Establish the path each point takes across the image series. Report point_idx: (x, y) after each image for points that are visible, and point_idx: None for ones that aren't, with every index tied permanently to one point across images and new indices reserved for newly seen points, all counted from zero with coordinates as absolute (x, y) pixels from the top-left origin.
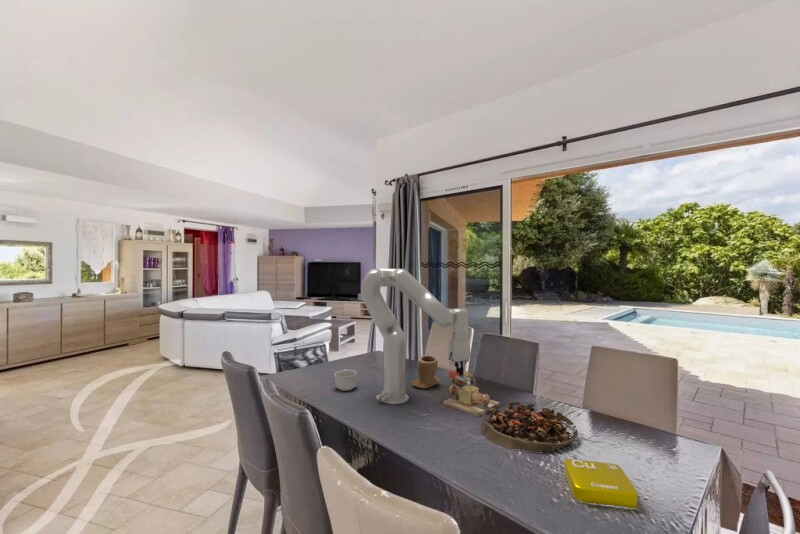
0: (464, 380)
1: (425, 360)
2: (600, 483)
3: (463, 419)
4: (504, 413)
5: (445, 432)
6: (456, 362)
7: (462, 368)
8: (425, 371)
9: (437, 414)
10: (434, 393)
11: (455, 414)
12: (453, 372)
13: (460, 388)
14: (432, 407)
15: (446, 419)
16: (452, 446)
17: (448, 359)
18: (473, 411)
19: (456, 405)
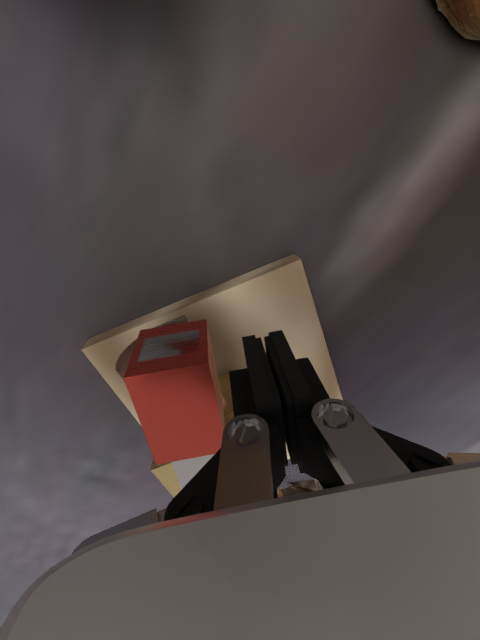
0: None
1: None
2: None
3: (121, 484)
4: (294, 494)
5: (10, 540)
6: (254, 502)
7: (298, 462)
8: None
9: (15, 429)
10: (92, 115)
11: (107, 446)
12: (154, 447)
13: (158, 477)
14: (6, 355)
15: (46, 473)
16: (11, 591)
17: (26, 601)
18: None
19: (134, 417)
